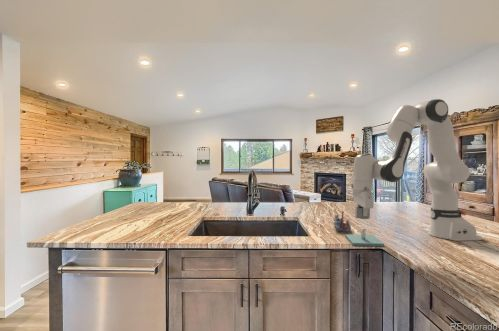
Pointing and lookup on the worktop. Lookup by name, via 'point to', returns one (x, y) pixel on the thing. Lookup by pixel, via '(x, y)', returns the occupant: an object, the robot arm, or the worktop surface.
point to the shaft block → (364, 239)
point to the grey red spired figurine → (341, 224)
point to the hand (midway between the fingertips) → (362, 214)
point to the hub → (361, 213)
